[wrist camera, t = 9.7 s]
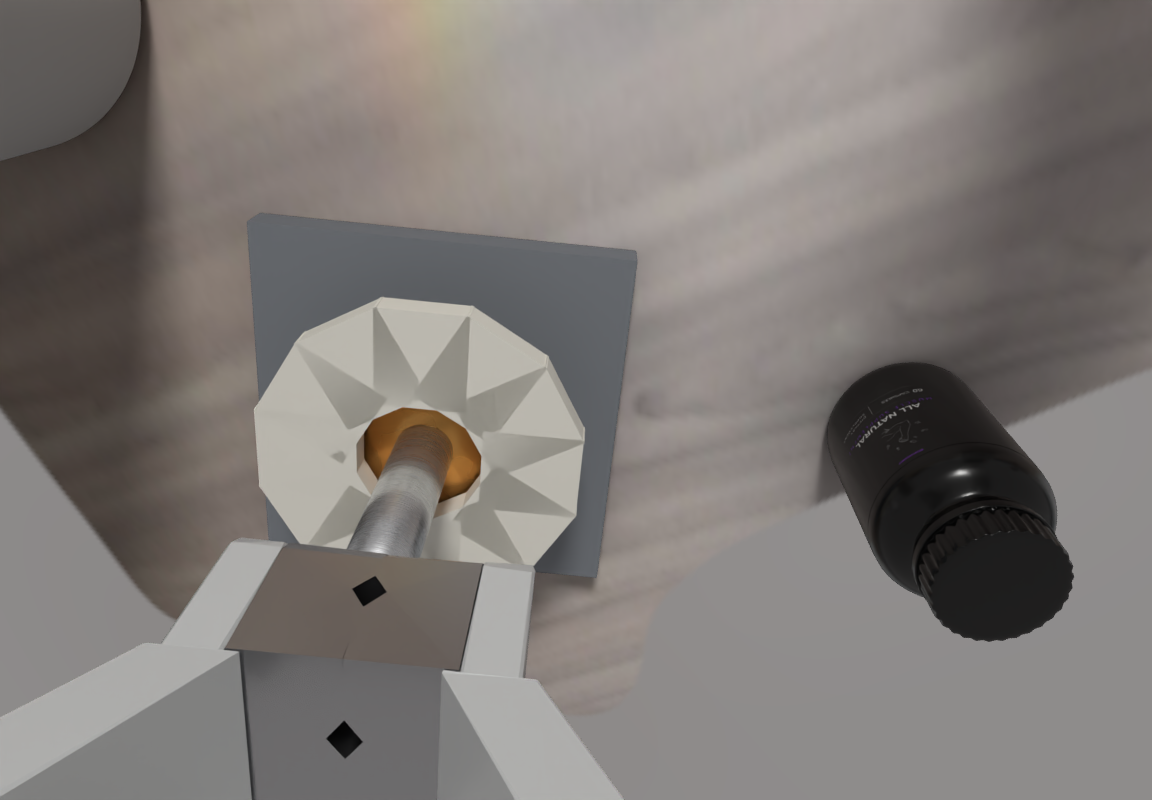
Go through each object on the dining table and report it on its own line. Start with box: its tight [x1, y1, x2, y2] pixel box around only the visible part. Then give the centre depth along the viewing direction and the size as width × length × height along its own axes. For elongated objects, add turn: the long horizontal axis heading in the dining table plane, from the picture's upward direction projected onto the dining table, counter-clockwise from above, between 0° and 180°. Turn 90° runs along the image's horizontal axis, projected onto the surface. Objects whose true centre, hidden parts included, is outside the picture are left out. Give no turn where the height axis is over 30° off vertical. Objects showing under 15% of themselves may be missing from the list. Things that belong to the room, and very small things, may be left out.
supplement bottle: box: [827, 362, 1074, 642], centre depth 35 cm, size 7×7×12 cm
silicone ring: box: [254, 297, 585, 566], centre depth 35 cm, size 13×13×1 cm
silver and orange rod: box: [347, 407, 481, 558], centre depth 33 cm, size 6×6×14 cm
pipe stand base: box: [247, 213, 637, 578], centre depth 40 cm, size 16×16×2 cm
